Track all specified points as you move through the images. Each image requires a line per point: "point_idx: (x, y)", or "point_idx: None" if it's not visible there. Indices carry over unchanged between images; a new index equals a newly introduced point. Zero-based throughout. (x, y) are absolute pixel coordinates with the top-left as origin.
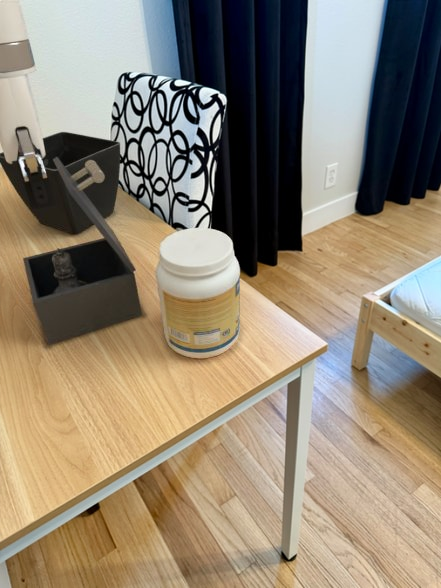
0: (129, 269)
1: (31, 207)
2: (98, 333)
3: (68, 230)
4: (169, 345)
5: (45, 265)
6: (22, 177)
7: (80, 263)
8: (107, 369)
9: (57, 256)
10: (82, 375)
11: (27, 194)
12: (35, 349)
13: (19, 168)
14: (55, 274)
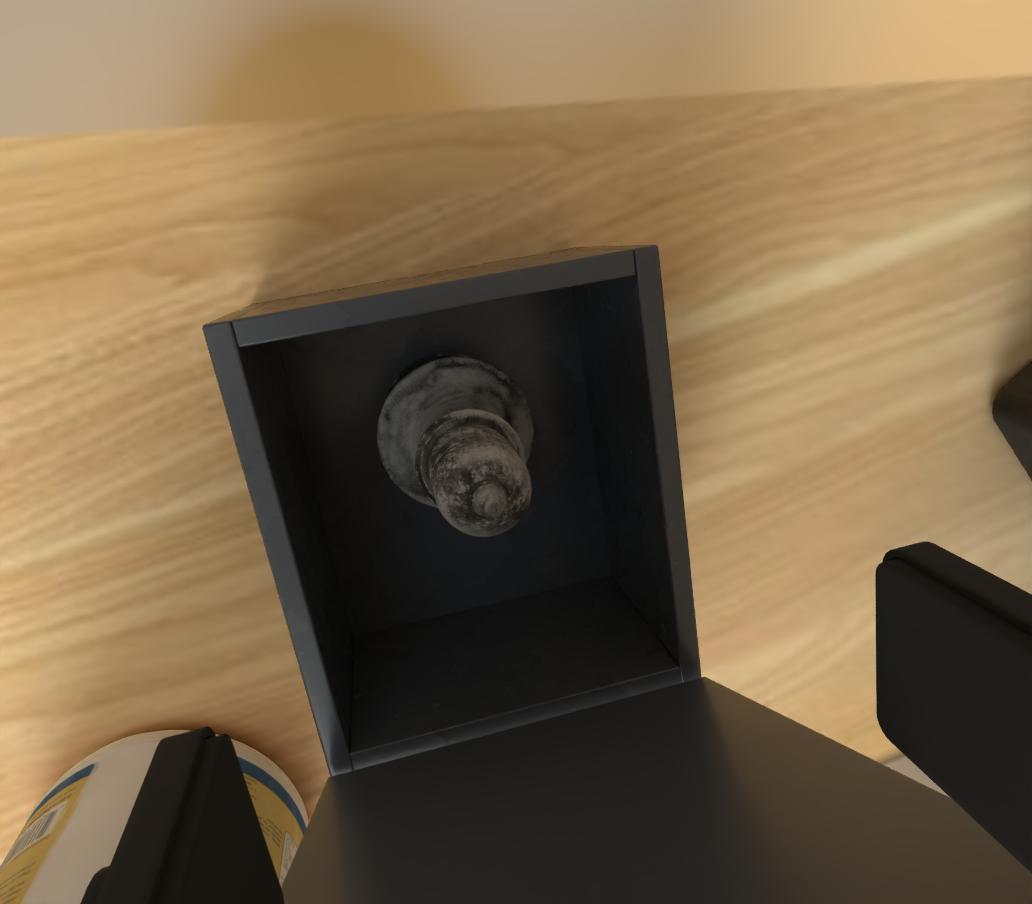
0: (326, 784)
1: (158, 749)
2: None
3: (1023, 378)
4: (112, 744)
5: (623, 341)
6: (938, 577)
7: (629, 484)
8: (59, 522)
9: (463, 487)
10: (42, 434)
11: (109, 877)
12: (237, 250)
13: (1028, 631)
14: (456, 419)
